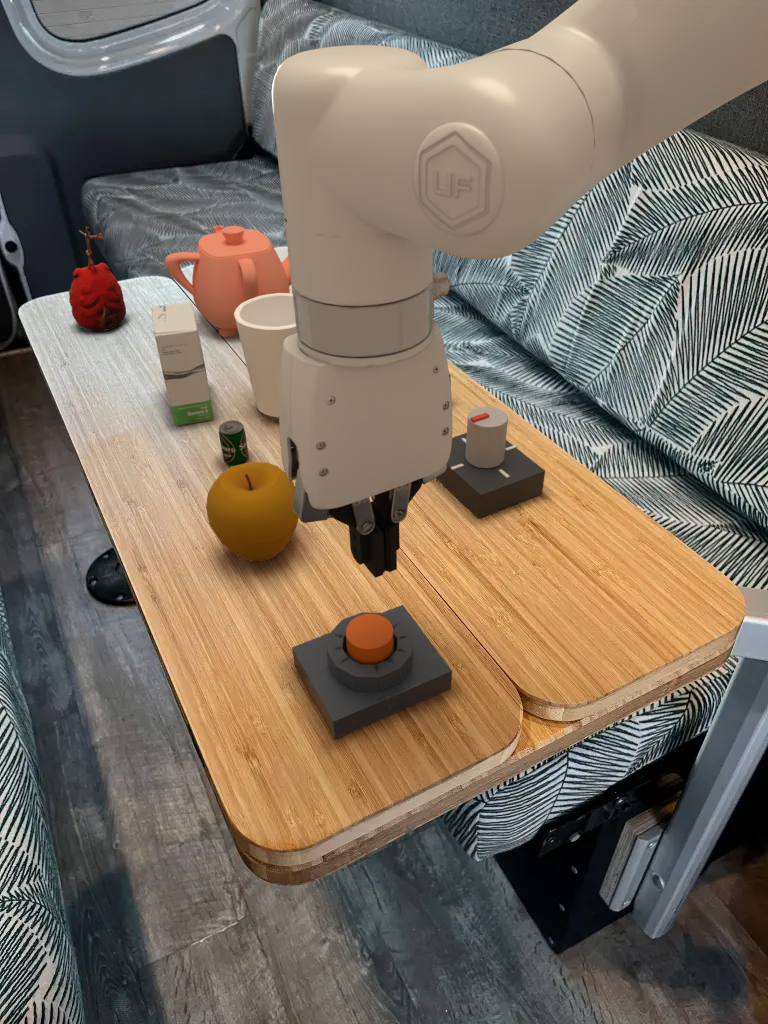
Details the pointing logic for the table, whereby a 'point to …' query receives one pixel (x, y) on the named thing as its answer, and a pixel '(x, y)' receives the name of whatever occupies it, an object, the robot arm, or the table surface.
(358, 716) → the block
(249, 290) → the teapot
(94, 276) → the red lychee
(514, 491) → the console
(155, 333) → the ink box
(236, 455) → the beer can
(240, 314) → the cup
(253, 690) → the table surface
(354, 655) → the button
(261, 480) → the apple
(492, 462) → the dial
